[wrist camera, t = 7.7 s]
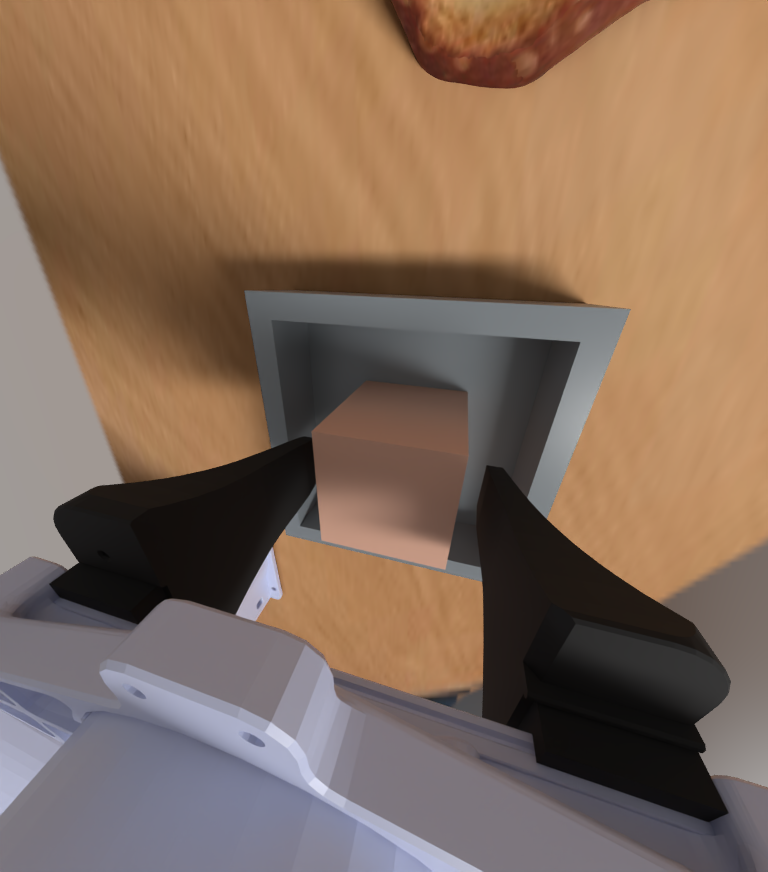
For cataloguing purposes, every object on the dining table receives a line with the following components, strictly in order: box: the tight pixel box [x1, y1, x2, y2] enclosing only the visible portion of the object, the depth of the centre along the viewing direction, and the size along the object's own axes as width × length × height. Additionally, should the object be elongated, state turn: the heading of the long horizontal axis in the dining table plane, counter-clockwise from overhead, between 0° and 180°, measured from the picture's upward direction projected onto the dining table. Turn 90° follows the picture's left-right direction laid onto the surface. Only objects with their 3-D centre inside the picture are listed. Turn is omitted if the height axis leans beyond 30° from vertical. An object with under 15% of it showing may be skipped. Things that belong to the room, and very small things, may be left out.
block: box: [311, 380, 469, 570], centre depth 13 cm, size 5×5×6 cm
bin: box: [244, 290, 631, 581], centre depth 14 cm, size 13×13×4 cm
